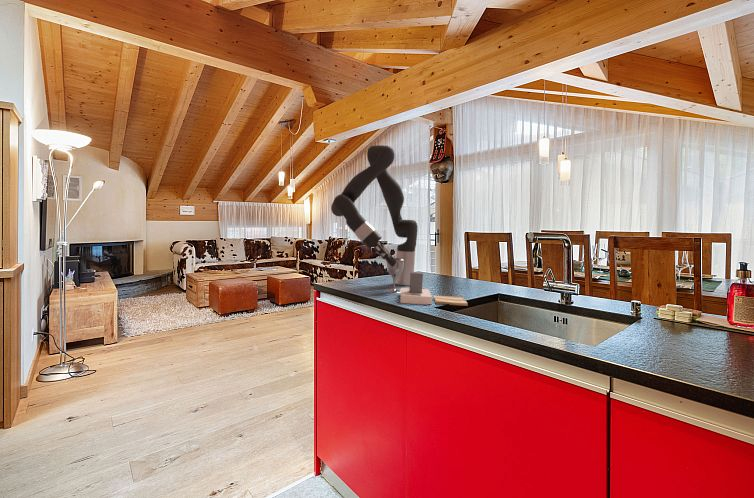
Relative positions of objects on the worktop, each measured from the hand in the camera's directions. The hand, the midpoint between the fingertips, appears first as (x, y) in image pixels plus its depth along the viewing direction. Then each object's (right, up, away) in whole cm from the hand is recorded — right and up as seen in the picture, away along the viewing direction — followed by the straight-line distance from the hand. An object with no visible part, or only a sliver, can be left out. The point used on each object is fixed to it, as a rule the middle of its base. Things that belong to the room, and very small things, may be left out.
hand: (394, 264), depth 153 cm
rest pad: (+22, -15, -2) cm, 27 cm away
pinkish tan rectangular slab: (+9, -14, 0) cm, 17 cm away
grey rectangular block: (+9, -14, 0) cm, 17 cm away
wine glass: (+1, -13, +17) cm, 21 cm away
